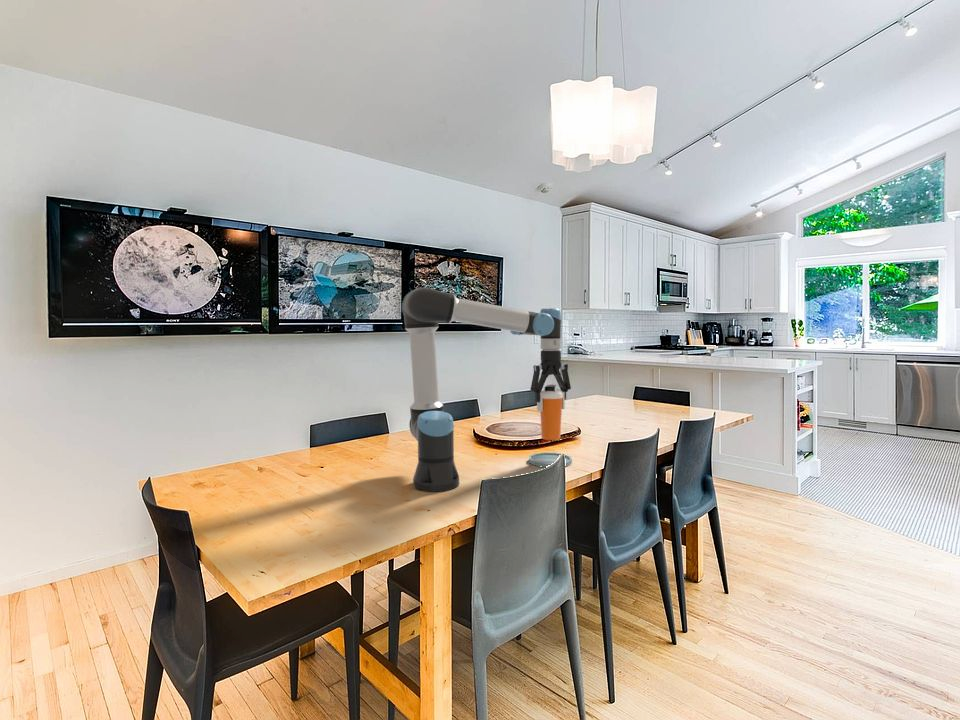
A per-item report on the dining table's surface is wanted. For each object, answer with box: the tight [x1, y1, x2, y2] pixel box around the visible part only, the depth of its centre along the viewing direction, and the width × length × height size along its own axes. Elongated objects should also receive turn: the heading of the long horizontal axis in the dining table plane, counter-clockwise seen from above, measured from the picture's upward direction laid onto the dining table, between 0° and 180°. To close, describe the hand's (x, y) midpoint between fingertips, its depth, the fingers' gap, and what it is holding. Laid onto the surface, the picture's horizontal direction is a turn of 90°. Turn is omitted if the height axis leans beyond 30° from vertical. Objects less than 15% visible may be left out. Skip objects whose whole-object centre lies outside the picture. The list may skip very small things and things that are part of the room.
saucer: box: [528, 451, 573, 468], centre depth 194 cm, size 16×16×2 cm
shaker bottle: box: [539, 384, 563, 441], centre depth 192 cm, size 9×9×20 cm
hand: (550, 409), depth 192 cm, fingers closed on shaker bottle, 9 cm apart
